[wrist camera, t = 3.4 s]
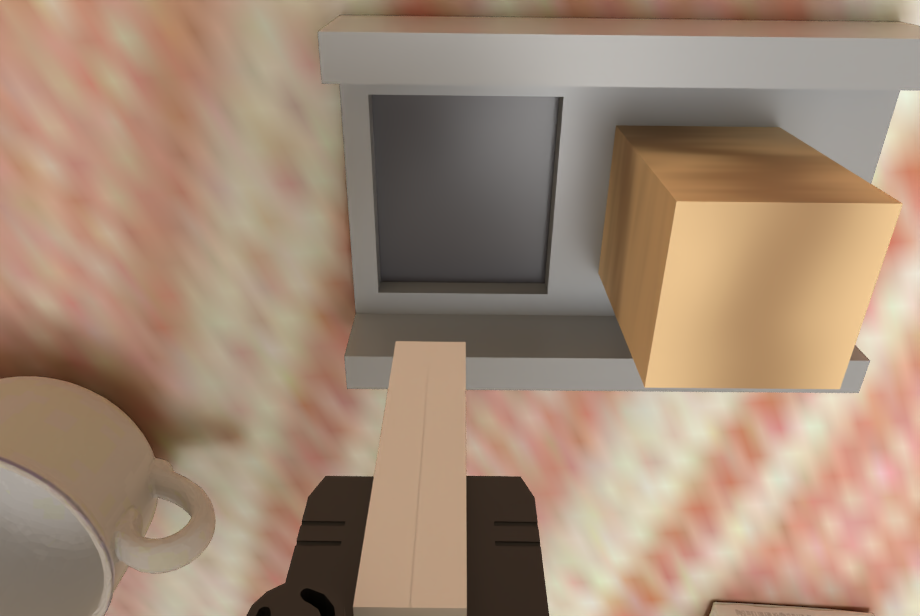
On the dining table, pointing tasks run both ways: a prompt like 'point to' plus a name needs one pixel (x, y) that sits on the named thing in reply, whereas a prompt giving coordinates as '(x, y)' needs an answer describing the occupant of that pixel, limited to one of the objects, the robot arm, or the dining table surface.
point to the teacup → (82, 501)
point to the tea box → (776, 610)
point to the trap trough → (558, 167)
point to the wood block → (739, 256)
